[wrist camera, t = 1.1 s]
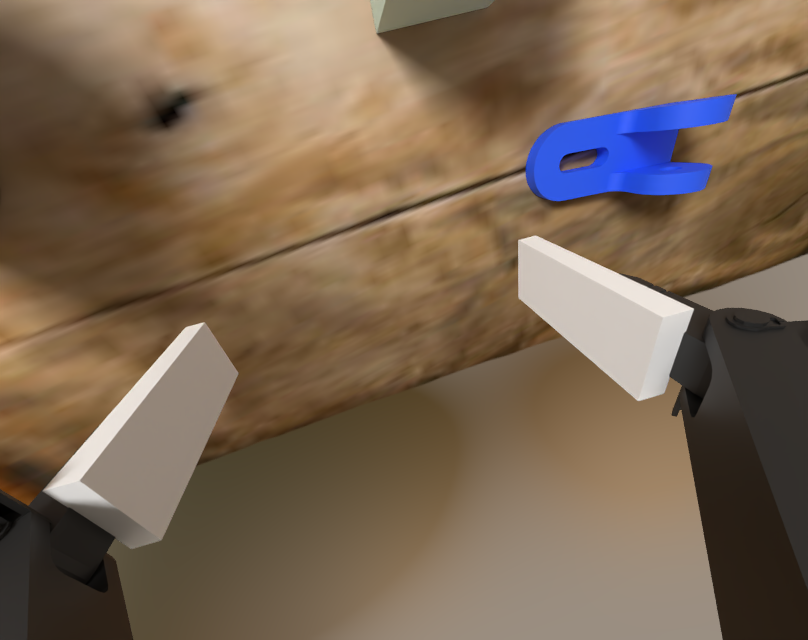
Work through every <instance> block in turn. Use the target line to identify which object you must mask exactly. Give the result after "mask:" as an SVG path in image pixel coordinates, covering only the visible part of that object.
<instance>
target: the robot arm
mask: <svg viewBox="0 0 808 640" xmlns="http://www.w3.org/2000/svg"><path fill="white" fill-rule="evenodd" d="M518 285H519V299H521V300H522V301H523V302H524V303H525V304H526V305H528V306H529V307H530V308H531V309H532V310H533V311H534V312H536V313H537V314H538V315H539V316H540V317H541V318H543V319H544V320H545V321H546V322H547V323H548V324H549V325H551V326H552V327H553V328H554V329H555V330H556V331H558V332H559V333H560V334H561V335H562V336H563V337H565V338H566V339H567V340H568V341H569V342H570V343H571V344H573V345H574V346H575V347H576V348H577V349H579V350H580V351H581V352H582V353H583V354H584V355H585V356H587V357H588V358H589V359H590V360H591V361H592V362H594V363H595V364H596V365H597V366H598V367H599V368H600V369H602V370H603V371H604V372H605V373H606V374H607V375H609V376H610V377H611V378H612V379H613V380H614V381H616V382H617V383H618V384H619V385H620V386H621V387H622V388H624V389H625V390H626V391H627V392H628V393H629V394H630V395H632V396H633V397H634V398H635V399H636V400H637V401H640V400H644V399H647V398H651V397H654V396H658V395H661V394H664V392H665V389H666V387H667V384H668V381H669V378H670V377H671V378H673V379H674V380H675V381H677V382H678V383H680V384H681V385H682V387H681V390H680V392H679V395H678V397H677V400H676V403H675V405H674V408H673V411H672V416H677V415H678V412H679V410H682V415H683V421H684V427H685V432H686V438H687V443H688V448H689V454H690V460H691V465H692V471H693V477H694V482H695V487H696V493H697V499H698V504H699V510H700V515H701V521H702V526H703V532H704V538H705V543H706V548H707V554H708V560H709V565H710V571H711V577H712V582H713V587H714V593H715V598H716V604H717V610H718V615H719V621H720V627H721V632H722V638H723V640H808V321H793V322H787V321H785V320H784V319H781V318H779V317H777V316H775V315H773V314H769V313H766V312H762V311H758V310H752V309H745V308H725V309H719V310H716V311H712V310H710V309H708V308H705V307H703V306H701V305H699V304H696V303H694V302H692V301H690V300H688V299H685V298H683V297H681V296H679V295H676V294H674V293H672V292H670V291H669V292H666V290H665V289H663V288H661V287H658V286H654V285H653V284H652V283H649V282H647V281H645V280H643V279H640V278H638V277H633V276H629V275H624V274H618V273H616V272H613V271H611V270H609V269H607V268H605V267H603V266H600V265H598V264H596V263H594V262H592V261H590V260H587V259H585V258H583V257H581V256H579V255H577V254H574V253H572V252H570V251H568V250H566V249H564V248H562V247H559V246H557V245H555V244H553V243H551V242H549V241H546V240H544V239H542V238H540V237H538V236H532V237H528V238H525V239H521V240H518ZM238 374H239V373H238V372H237V370H236V369H235V367H234V366H233V364H232V363H231V361H230V359H229V358H228V356H227V355H226V353H225V352H224V350H223V349H222V347H221V346H220V344H219V343H218V341H217V340H216V338H215V337H214V335H213V334H212V332H211V331H210V329H209V328H208V326H207V325H206V323H205V322H204V323H200V324H196V325H192V326H188V327H185V329H184V330H183V331H182V332H181V333H180V334H179V335H178V337H177V338H176V339H175V340H174V341H173V342H172V343H171V345H170V346H169V347H168V348H167V349H166V350H165V351H164V353H163V354H162V355H161V356H160V357H159V358H158V359H157V361H156V362H155V363H154V364H153V365H152V366H151V367H150V369H149V370H148V371H147V372H146V373H145V374H144V375H143V377H142V378H141V379H140V380H139V381H138V382H137V383H136V385H135V386H134V387H133V388H132V389H131V390H130V391H129V393H128V394H127V395H126V396H125V397H124V398H123V399H122V401H121V402H120V403H119V404H118V405H117V406H116V407H115V409H114V410H113V411H112V412H111V413H110V414H109V415H108V417H107V418H106V419H105V420H104V421H103V422H102V423H101V424H100V425H99V426H98V427H97V428H96V429H95V430H94V432H93V433H92V434H91V435H90V436H89V437H88V438H87V440H86V441H85V443H84V444H82V445H81V446H80V448H79V449H78V450H77V451H76V452H75V453H74V455H73V457H71V458H70V459H69V460H68V461H67V462H66V464H65V465H64V466H63V467H62V468H61V469H60V470H59V472H58V473H57V474H56V475H55V476H54V477H53V478H52V479H51V481H50V482H49V483H48V484H47V485H46V486H45V487H44V489H43V490H42V491H41V492H40V493H39V494H38V495H37V497H36V498H35V499H34V500H33V501H32V502H31V503H30V505H29V506H27V505H25V504H24V503H22V502H20V501H19V500H17V499H15V498H14V497H12V496H10V495H9V494H7V493H5V492H4V491H2V490H0V640H133V636H132V632H131V628H130V623H129V618H128V614H127V609H126V605H125V600H124V596H123V591H122V587H121V582H120V578H119V573H118V569H117V564H116V561H115V559H114V558H113V557H112V556H110V555H109V554H107V553H106V552H107V551H108V549H109V547H110V546H111V544H112V542H113V540H114V539H117V540H118V541H120V542H121V543H123V544H124V545H126V546H127V547H129V548H131V549H133V548H137V547H140V546H143V545H147V544H150V543H154V542H157V541H161V540H162V538H163V536H164V534H165V531H166V529H167V527H168V524H169V523H170V521H171V518H172V516H173V514H174V512H175V510H176V507H177V505H178V503H179V501H180V499H181V497H182V495H183V492H184V490H185V488H186V486H187V484H188V482H189V479H190V477H191V475H192V473H193V471H194V469H195V467H196V464H197V462H198V460H199V458H200V456H201V454H202V452H203V449H204V447H205V445H206V443H207V441H208V439H209V436H210V434H211V432H212V430H213V428H214V426H215V423H216V421H217V419H218V417H219V415H220V413H221V410H222V408H223V406H224V404H225V402H226V400H227V398H228V395H229V393H230V391H231V389H232V387H233V385H234V382H235V380H236V378H237V376H238Z"/></svg>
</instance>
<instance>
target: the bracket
mask: <svg viewBox="0 0 808 640" xmlns="http://www.w3.org/2000/svg"><path fill="white" fill-rule="evenodd" d="M736 95H737V94H733V95H725V96H718V97H710V98H703V99H696V100H689V101H682V102H674V103H668V104H663V105H657V106H652V107H646V108H641V109H635V110H630V111H624V112H619V113H613V114H608V115H603V116H597V117H592V118H586V119H581V120H575V121H570V122H564V123H560V124H557V125H554V126H552V127H550V128H549V129H547V130H546V131H545V132H544V133H543V134H541V135H540V137H539V138H538V139H537V140H536V142H535V143H534V145H533V146H532V148H531V150H530V153H529V156H528V159H527V163H526V179H527V183H528V185H529V187H530V189H531V190H532V191H533V193H534V194H536V195H537V196H539V197H541V198H545V199H549V200H552V201H564V200H569V199H574V198H579V197H584V196H588V195H593V194H598V193H603V192H610V191H623V192H630V193H636V194H644V195H673V194H684V193H691V192H696V191H700V190H703V189H704V188H705V187H706V184H707V181H708V178H709V175H710V172H711V169H712V165H710V164H703V163H683V162H670V160H671V156H672V153H673V149H674V145H675V142H676V138H677V134H678V131H679V129H682V128H690V127H697V126H704V125H710V124H716V123H721V122H725V121H728V119H729V116H730V113H731V110H732V107H733V104H734V101H735V98H736ZM590 149H596V150H597V158H596V160H595V161H594V163H593V164H591V165H590V166H586V167H581V168H575V169H570V170H565V171H560V169H559V164H560V161H561V159H562V158H563V156H565V155H566V154H569V153H574V152H580V151H585V150H590Z"/></svg>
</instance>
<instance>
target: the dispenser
mask: <svg viewBox="0 0 808 640" xmlns="http://www.w3.org/2000/svg"><path fill="white" fill-rule="evenodd" d="M494 1H495V0H370V2H371V8H372V13H373V18H374V23H375V28H376V33H377V34H378V33H382V32H386V31H390V30H394V29H399V28H403V27H407V26H411V25H416V24H420V23H424V22H428V21H432V20H437V19H441V18H445V17H449V16H453V15H458V14H462V13H466V12H470V11H475V10H479V9H483V8H487V7H489V6H490V5H491V4H492V3H493V2H494Z"/></svg>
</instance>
